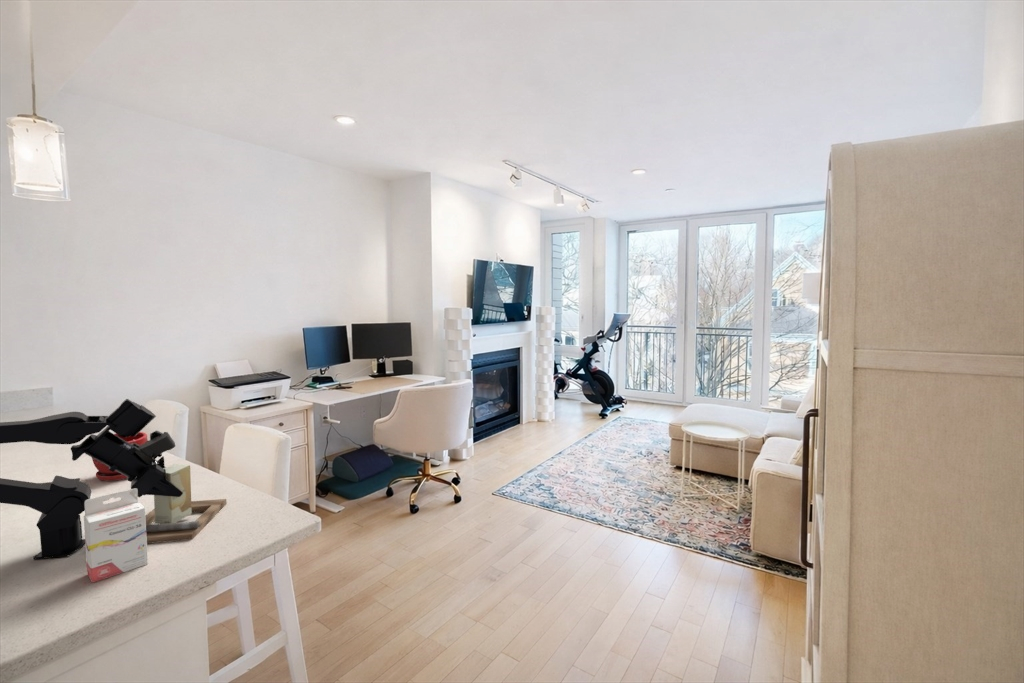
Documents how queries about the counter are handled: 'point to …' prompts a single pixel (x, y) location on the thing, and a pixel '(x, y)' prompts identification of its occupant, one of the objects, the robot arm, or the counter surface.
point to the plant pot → (111, 476)
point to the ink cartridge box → (114, 535)
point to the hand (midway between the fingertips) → (180, 489)
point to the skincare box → (174, 507)
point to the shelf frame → (183, 528)
